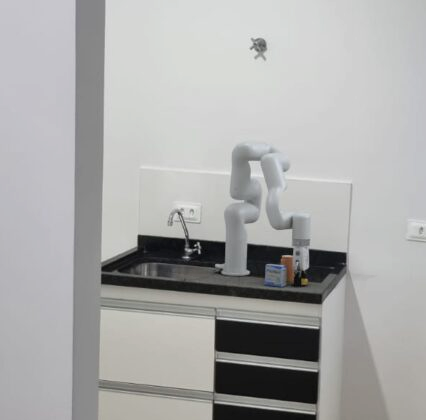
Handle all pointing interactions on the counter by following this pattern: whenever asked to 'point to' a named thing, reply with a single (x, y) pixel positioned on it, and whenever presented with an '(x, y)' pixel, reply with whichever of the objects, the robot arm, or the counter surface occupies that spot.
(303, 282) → the jar lid
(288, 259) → the jam jar
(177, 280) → the counter surface
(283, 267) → the medicine box
